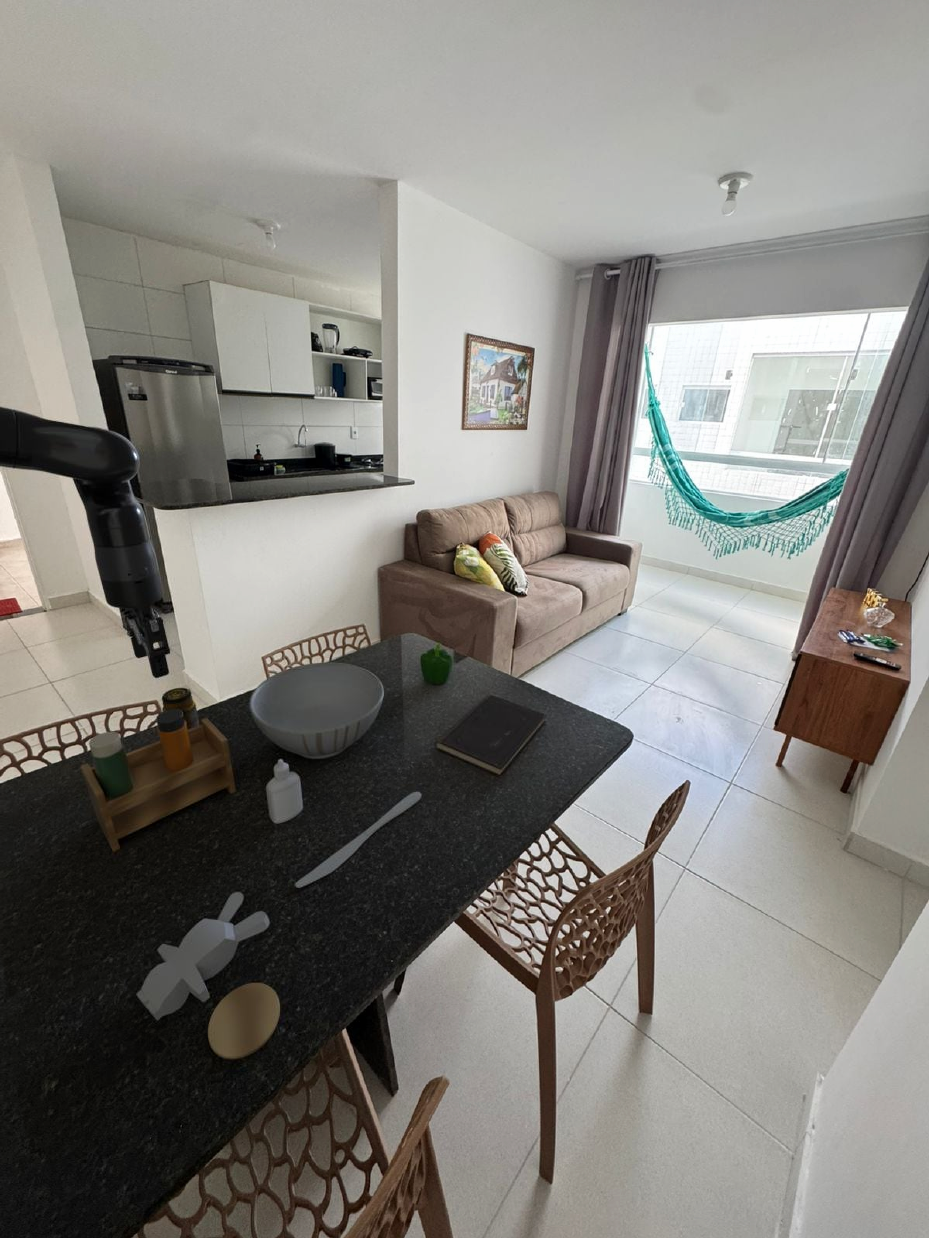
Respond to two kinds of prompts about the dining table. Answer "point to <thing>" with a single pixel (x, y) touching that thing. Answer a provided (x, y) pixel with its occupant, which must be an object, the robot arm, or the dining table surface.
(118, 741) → the green spice bottle
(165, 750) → the amber spice bottle
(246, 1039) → the cork coaster
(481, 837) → the dining table surface
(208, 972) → the bunny figurine
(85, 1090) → the dining table surface
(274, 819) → the eye dropper bottle
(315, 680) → the decorative bowl
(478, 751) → the hardcover book
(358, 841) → the butter knife
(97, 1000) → the dining table surface
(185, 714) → the condiment
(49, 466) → the robot arm
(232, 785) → the spice rack
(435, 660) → the bell pepper
